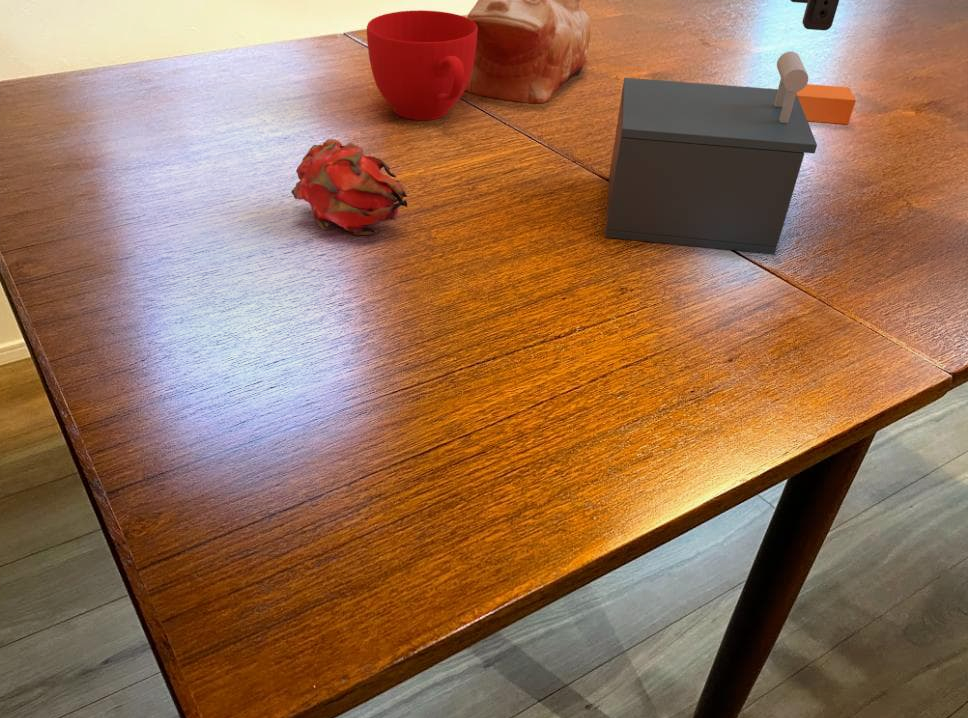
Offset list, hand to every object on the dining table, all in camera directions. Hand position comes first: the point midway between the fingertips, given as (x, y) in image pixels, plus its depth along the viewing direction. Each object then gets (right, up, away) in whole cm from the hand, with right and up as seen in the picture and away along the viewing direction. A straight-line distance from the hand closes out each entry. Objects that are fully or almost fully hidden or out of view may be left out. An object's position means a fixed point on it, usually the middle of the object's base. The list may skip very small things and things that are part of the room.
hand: (807, 14), depth 75 cm
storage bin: (-7, -14, +13) cm, 20 cm away
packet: (+16, +3, +35) cm, 38 cm away
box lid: (-6, -6, +7) cm, 11 cm away
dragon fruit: (-40, -16, +11) cm, 44 cm away
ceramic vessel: (-20, +10, +43) cm, 49 cm away
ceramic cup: (-32, +2, +32) cm, 46 cm away
